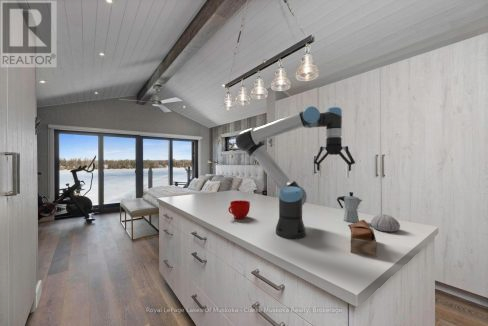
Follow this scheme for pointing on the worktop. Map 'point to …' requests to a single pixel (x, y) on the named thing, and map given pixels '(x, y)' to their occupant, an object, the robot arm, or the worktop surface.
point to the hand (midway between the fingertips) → (333, 177)
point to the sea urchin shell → (385, 223)
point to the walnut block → (364, 246)
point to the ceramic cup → (239, 208)
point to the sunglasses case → (361, 231)
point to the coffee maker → (350, 207)
